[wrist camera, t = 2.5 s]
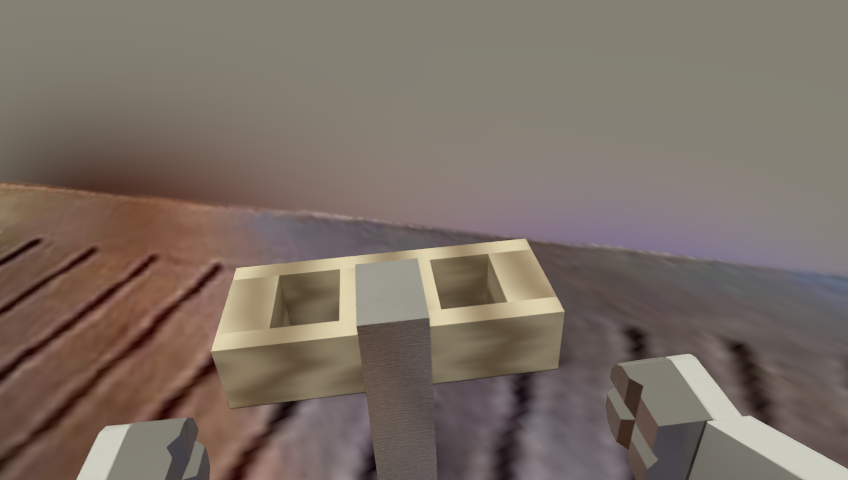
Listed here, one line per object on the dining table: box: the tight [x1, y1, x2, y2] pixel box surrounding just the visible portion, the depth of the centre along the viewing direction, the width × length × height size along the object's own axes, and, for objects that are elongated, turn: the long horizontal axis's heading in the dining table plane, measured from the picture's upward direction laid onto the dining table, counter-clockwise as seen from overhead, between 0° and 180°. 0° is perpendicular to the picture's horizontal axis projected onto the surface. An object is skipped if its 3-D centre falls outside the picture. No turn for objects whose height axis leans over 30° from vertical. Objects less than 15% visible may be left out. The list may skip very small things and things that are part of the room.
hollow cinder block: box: [211, 239, 565, 408], centre depth 39 cm, size 22×9×5 cm, turn 97°
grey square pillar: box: [355, 258, 438, 480], centre depth 28 cm, size 3×4×13 cm, turn 7°
